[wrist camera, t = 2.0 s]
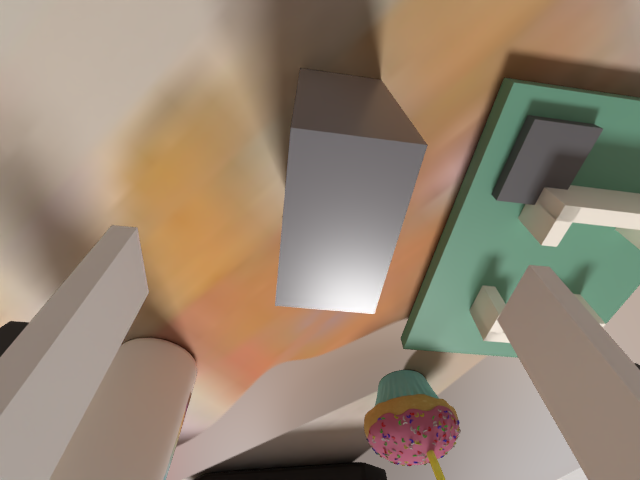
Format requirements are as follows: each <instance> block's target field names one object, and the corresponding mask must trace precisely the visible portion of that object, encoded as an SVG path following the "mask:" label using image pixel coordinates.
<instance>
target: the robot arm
mask: <svg viewBox="0 0 640 480" xmlns="http://www.w3.org/2000/svg"><path fill="white" fill-rule="evenodd" d="M148 293H149V290H148V284H147V279H146V273H145V268H144V262H143V257H142V251H141V245H140V240H139V234H138V229H137V228H136V227H125V226H115V225H112V226H111V227H110V228H109V229H108V230H107V231H106V233H105V234H104V235H103V236H102V237H101V239H100V240H99V241H98V242H97V243H96V244H95V246H94V247H93V248H92V249H91V250H90V252H89V253H88V254H87V255H86V256H85V257H84V259H83V260H82V261H81V262H80V263H79V265H78V266H77V267H76V268H75V269H74V270H73V272H72V273H71V274H70V275H69V276H68V278H67V279H66V280H65V281H64V282H63V283H62V285H61V286H60V287H59V288H58V289H57V291H56V292H55V293H54V294H53V295H52V297H51V298H50V299H49V300H48V301H47V302H46V304H45V305H44V306H43V307H42V308H41V310H40V311H39V312H38V313H37V314H36V315H35V317H34V318H33V319H32V320H31V321H30V323H28V322H14V321H10V322H8V323H7V324H5V325H4V326H2V327H1V328H0V480H49V479H50V477H51V475H52V474H53V472H54V470H55V468H56V466H57V464H58V462H59V460H60V459H61V457H62V455H63V453H64V451H65V449H66V447H67V445H68V444H69V442H70V440H71V438H72V436H73V434H74V432H75V430H76V428H77V427H78V425H79V423H80V421H81V419H82V417H83V415H84V413H85V412H86V410H87V408H88V406H89V404H90V402H91V400H92V398H93V397H94V395H95V393H96V391H97V389H98V387H99V385H100V383H101V382H102V380H103V378H104V376H105V374H106V372H107V370H108V368H109V367H110V365H111V363H112V361H113V359H114V357H115V355H116V353H117V352H118V350H119V348H120V346H121V344H122V342H123V340H124V338H125V336H126V335H127V333H128V331H129V329H130V327H131V325H132V323H133V321H134V320H135V318H136V316H137V314H138V312H139V310H140V308H141V306H142V305H143V303H144V301H145V299H146V297H147V295H148ZM497 321H498V323H499V324H500V326H501V328H502V330H503V331H504V333H505V335H506V337H507V338H508V340H509V342H510V344H511V345H512V347H513V349H514V351H515V352H516V354H517V356H518V358H519V359H520V361H521V363H522V364H523V366H524V368H525V370H526V371H527V373H528V375H529V377H530V379H531V380H532V382H533V384H534V386H535V387H536V389H537V391H538V393H539V394H540V396H541V398H542V400H543V401H544V403H545V405H546V407H547V408H548V410H549V412H550V414H551V415H552V417H553V419H554V420H555V422H556V424H557V426H558V428H559V429H560V431H561V433H562V434H563V436H564V438H565V440H566V442H567V443H568V445H569V447H570V448H571V450H572V452H573V454H574V455H575V457H576V459H577V461H578V462H579V464H580V466H581V468H582V470H583V471H584V473H585V475H586V477H587V478H588V480H640V365H638V364H636V363H633V362H632V361H631V359H630V358H629V357H628V356H627V355H626V354H625V353H624V352H623V350H622V349H621V348H620V347H619V346H618V345H617V343H616V342H615V341H614V340H613V339H612V338H611V337H610V336H609V334H608V333H607V332H606V331H605V330H604V329H603V327H602V326H601V325H600V324H599V323H598V322H597V321H596V319H595V318H594V317H593V316H592V315H591V314H590V312H589V311H588V310H587V309H586V308H585V307H584V306H583V304H582V303H581V302H580V301H579V300H578V299H577V298H576V296H575V295H574V294H573V293H572V292H571V291H570V290H569V288H568V287H567V286H566V285H565V284H564V283H563V282H562V280H561V279H560V278H559V277H558V276H557V275H556V274H555V272H554V271H553V270H552V269H551V268H550V267H547V266H536V265H529V266H528V268H527V269H526V271H525V273H524V274H523V276H522V278H521V280H520V281H519V283H518V285H517V286H516V288H515V290H514V292H513V293H512V295H511V297H510V298H509V300H508V302H507V304H506V305H505V307H504V309H503V310H502V312H501V314H500V315H499V317H498V319H497Z"/></svg>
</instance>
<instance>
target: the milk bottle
mask: <svg viewBox="0 0 640 480" xmlns="http://www.w3.org/2000/svg"><path fill="white" fill-rule="evenodd" d="M196 376H197V366H196V362H195V360H194V358H193V357H192V356H191V354H190V353H189V352H188V351H186V350H185V349H184V348H182V347H180V346H179V345H177V344H174V343H172V342H169V341H166V340H162V339H156V338H137V339H133V340H130V341H128V342H125V343H124V344H122V345H121V346H120V348H119V350H118V352H117V353H116V355H115V357H114V359H113V361H112V363H111V365H110V367H109V368H108V370H107V372H106V374H105V376H104V378H103V380H102V382H101V383H100V385H99V387H98V389H97V391H96V393H95V395H94V397H93V398H92V400H91V402H90V404H89V406H88V408H87V410H86V412H85V413H84V415H83V417H82V419H81V421H80V423H79V425H78V427H77V428H76V430H75V432H74V434H73V436H72V438H71V440H70V442H69V444H68V445H67V447H66V449H65V451H64V453H63V455H62V457H61V459H60V460H59V462H58V464H57V466H56V468H55V470H54V472H53V474H52V475H51V477H50V479H49V480H166V478H167V474H168V471H169V468H170V464H171V461H172V458H173V455H174V451H175V448H176V445H177V442H178V438H179V435H180V432H181V428H182V425H183V422H184V418H185V415H186V411H187V408H188V405H189V401H190V398H191V395H192V391H193V388H194V384H195V380H196Z"/></svg>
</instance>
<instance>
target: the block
mask: <svg viewBox="0 0 640 480" xmlns="http://www.w3.org/2000/svg"><path fill="white" fill-rule="evenodd" d="M426 148H427V144H426V142H425V141H424V140H423V138H422V137H421V135H420V134H419V133H418V131H417V130H416V128H415V127H414V125H413V124H412V123H411V121H410V120H409V118H408V117H407V116H406V114H405V113H404V111H403V110H402V109H401V107H400V106H399V104H398V103H397V101H396V100H395V99H394V97H393V96H392V94H391V93H390V92H389V90H388V89H387V87H386V86H385V85H384V83H383V82H382V80H380V79H373V78H366V77H359V76H352V75H345V74H338V73H331V72H324V71H317V70H310V69H303V68H300V72H299V79H298V85H297V91H296V98H295V104H294V110H293V117H292V123H291V130H290V142H289V153H288V164H287V176H286V187H285V199H284V210H283V222H282V233H281V244H280V256H279V267H278V279H277V290H276V301H275V306H286V307H298V308H310V309H322V310H334V311H346V312H358V313H370V314H374V313H375V310H376V307H377V303H378V300H379V297H380V294H381V291H382V288H383V284H384V281H385V278H386V275H387V272H388V269H389V265H390V262H391V259H392V256H393V253H394V250H395V246H396V243H397V240H398V237H399V234H400V231H401V227H402V224H403V221H404V218H405V215H406V211H407V208H408V205H409V202H410V199H411V196H412V192H413V189H414V186H415V183H416V180H417V177H418V173H419V170H420V167H421V164H422V161H423V158H424V154H425V151H426Z"/></svg>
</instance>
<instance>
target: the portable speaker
mask: <svg viewBox="0 0 640 480" xmlns="http://www.w3.org/2000/svg"><path fill="white" fill-rule="evenodd" d="M194 480H387V477H386V472H385V470H384V469H381V468H378V467H375V466H372V465H369V464H366V463H362V462H353V463H347V464H331V465H316V466H302V467H288V468H273V469H259V470H244V471H230V472H218V473H209V474H204V475H202V476H200V477H198V478H196V479H194Z"/></svg>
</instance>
